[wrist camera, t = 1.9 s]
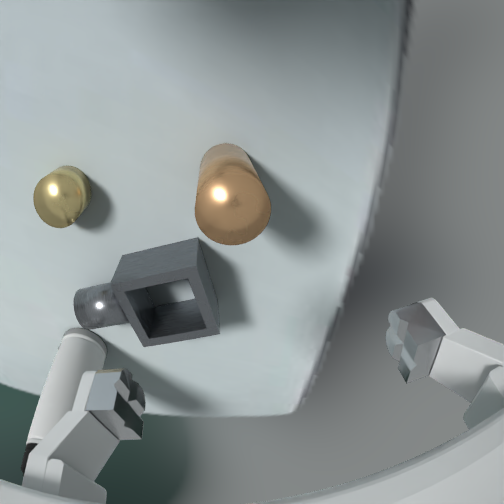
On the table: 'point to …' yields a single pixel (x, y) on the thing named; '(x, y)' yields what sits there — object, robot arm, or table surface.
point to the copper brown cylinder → (230, 197)
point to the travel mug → (64, 382)
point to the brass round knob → (62, 196)
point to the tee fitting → (140, 304)
